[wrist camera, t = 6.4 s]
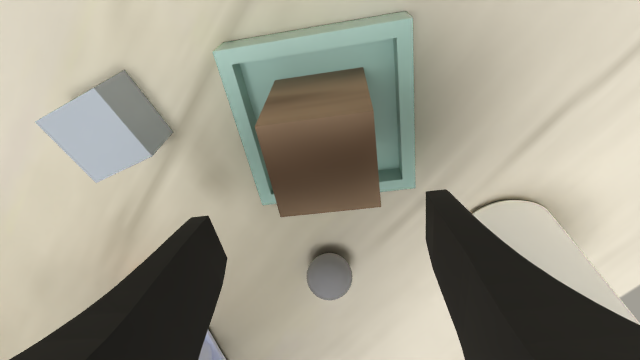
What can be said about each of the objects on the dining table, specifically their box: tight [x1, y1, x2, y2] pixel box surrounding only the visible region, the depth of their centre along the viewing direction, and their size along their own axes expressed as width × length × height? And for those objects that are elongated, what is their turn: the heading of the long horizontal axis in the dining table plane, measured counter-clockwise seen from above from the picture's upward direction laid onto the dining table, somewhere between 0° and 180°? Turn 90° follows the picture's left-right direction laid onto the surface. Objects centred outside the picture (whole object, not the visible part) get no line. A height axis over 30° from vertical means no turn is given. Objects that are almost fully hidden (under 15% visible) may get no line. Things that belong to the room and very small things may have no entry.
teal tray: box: [213, 11, 415, 205], centre depth 19 cm, size 9×9×2 cm
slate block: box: [35, 70, 173, 183], centre depth 19 cm, size 4×4×3 cm
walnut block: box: [255, 67, 381, 217], centre depth 16 cm, size 4×4×6 cm
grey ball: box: [307, 253, 352, 300], centre depth 24 cm, size 3×3×3 cm
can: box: [472, 200, 640, 325], centre depth 19 cm, size 6×6×12 cm
